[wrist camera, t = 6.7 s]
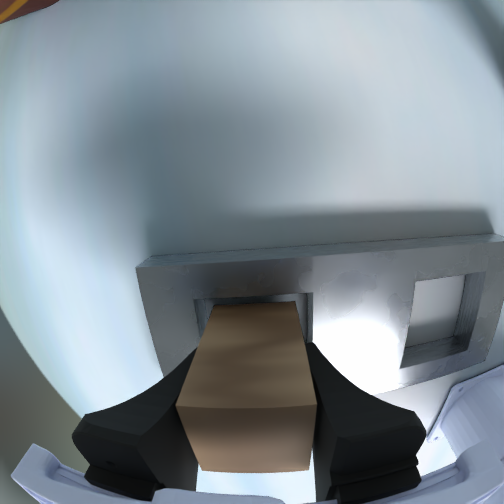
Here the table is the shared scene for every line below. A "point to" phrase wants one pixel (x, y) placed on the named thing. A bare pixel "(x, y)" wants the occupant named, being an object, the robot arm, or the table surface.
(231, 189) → the table surface
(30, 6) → the jug
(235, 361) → the walnut peg
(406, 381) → the grey slotted board
